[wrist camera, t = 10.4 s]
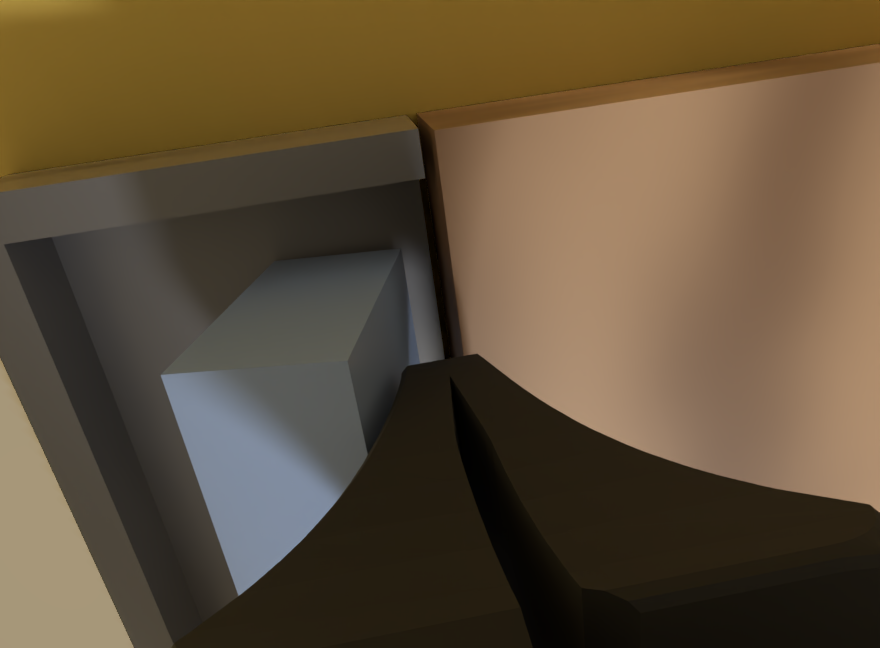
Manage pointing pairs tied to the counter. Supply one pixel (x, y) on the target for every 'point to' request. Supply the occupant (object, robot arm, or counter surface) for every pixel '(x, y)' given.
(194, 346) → the blue-gray block
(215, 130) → the counter surface
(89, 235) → the tray
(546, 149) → the walnut board
